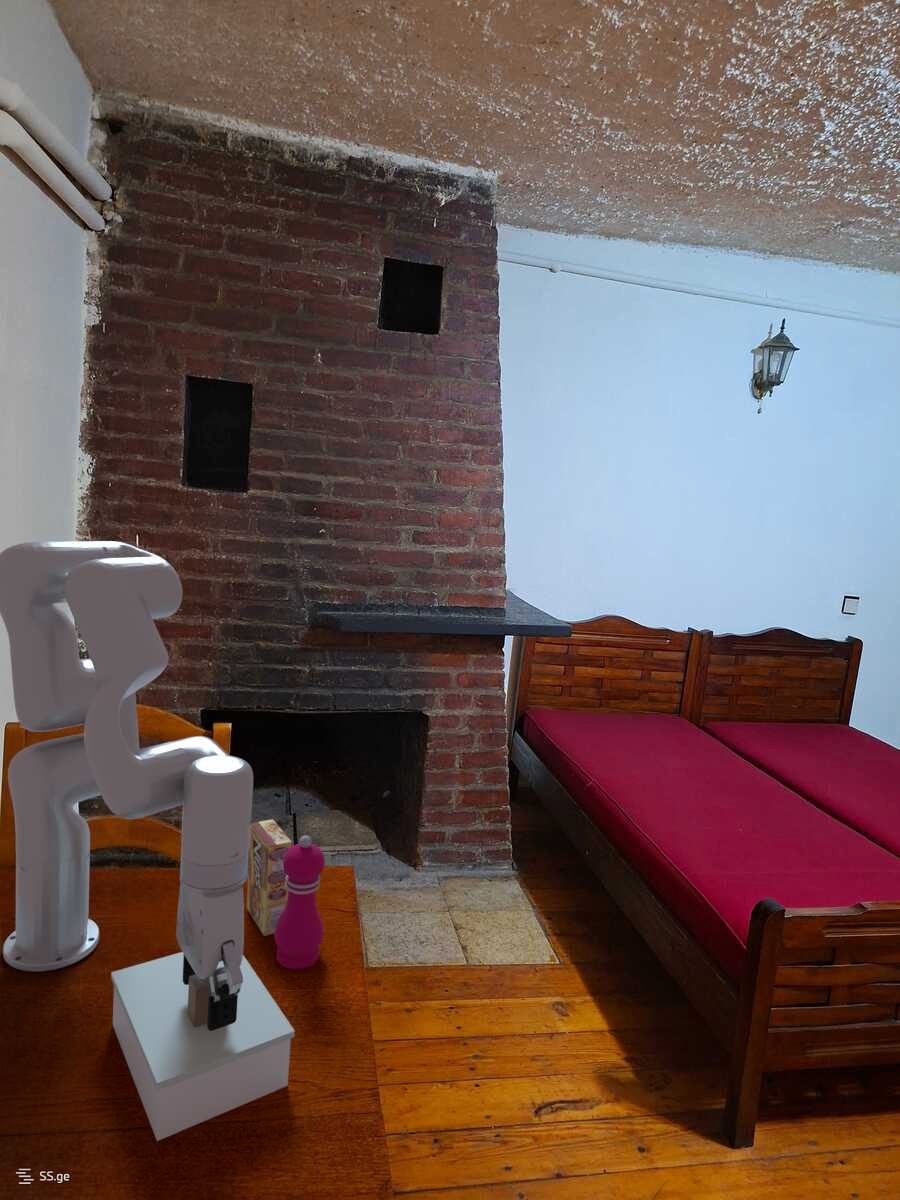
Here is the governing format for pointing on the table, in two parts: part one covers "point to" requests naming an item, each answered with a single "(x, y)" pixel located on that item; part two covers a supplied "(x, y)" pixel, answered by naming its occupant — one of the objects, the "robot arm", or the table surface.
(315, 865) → the pepper mill
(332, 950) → the table surface
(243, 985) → the lid
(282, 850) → the candy box
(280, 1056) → the storage box
